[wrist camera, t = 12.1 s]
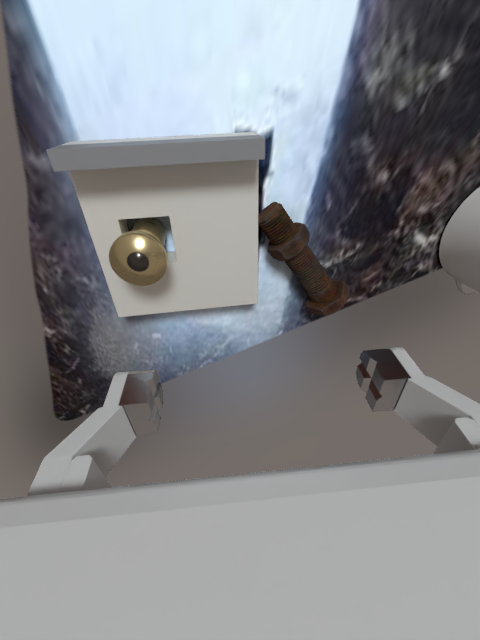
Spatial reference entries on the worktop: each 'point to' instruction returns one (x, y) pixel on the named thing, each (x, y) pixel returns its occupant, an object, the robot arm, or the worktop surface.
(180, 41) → the worktop surface
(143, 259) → the bushing
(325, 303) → the bolt
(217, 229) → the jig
